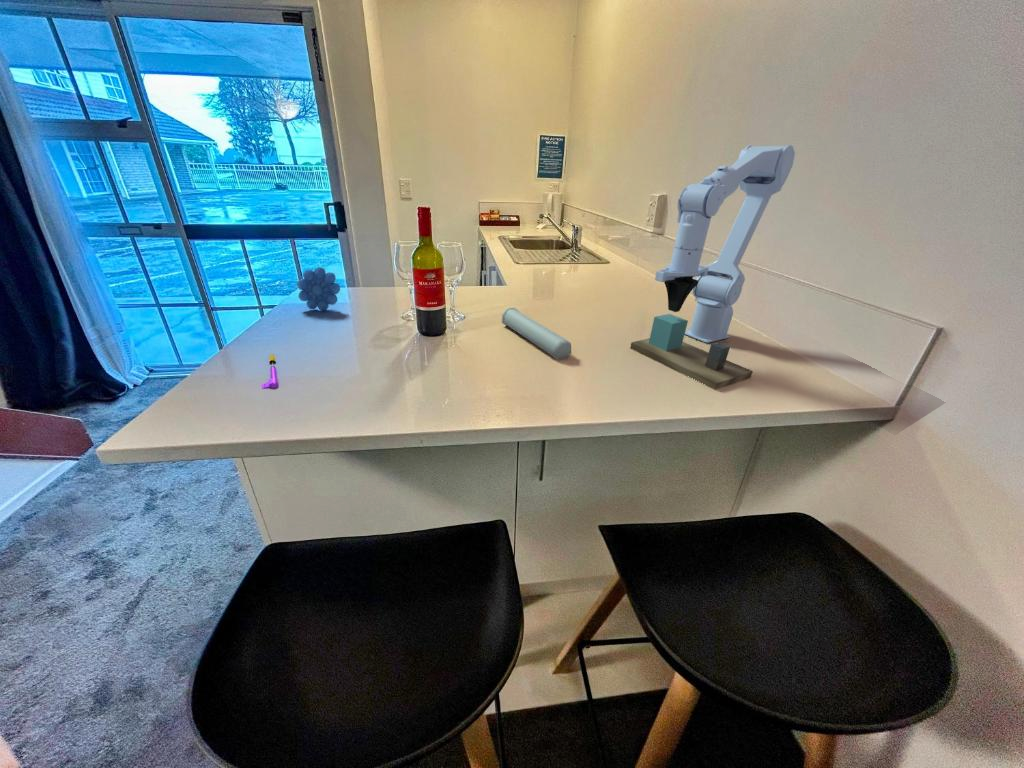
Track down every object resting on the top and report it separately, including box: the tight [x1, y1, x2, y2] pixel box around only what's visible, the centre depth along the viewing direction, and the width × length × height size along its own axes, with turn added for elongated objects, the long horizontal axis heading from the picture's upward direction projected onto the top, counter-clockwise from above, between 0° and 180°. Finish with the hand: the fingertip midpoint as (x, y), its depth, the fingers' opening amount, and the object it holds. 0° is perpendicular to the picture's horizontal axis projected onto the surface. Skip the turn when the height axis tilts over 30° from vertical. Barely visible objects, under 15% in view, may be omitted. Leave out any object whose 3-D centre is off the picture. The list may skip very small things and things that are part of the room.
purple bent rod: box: [261, 353, 279, 390], centre depth 78 cm, size 3×1×16 cm
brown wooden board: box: [629, 337, 754, 391], centre depth 90 cm, size 12×23×2 cm, turn 30°
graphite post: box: [705, 341, 731, 371], centre depth 83 cm, size 3×3×5 cm
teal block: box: [648, 313, 689, 351], centre depth 93 cm, size 5×5×7 cm
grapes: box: [296, 266, 341, 312], centre depth 109 cm, size 12×7×12 cm, turn 90°
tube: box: [501, 307, 572, 360], centre depth 96 cm, size 5×5×25 cm
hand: (673, 310), depth 90 cm, fingers closed
